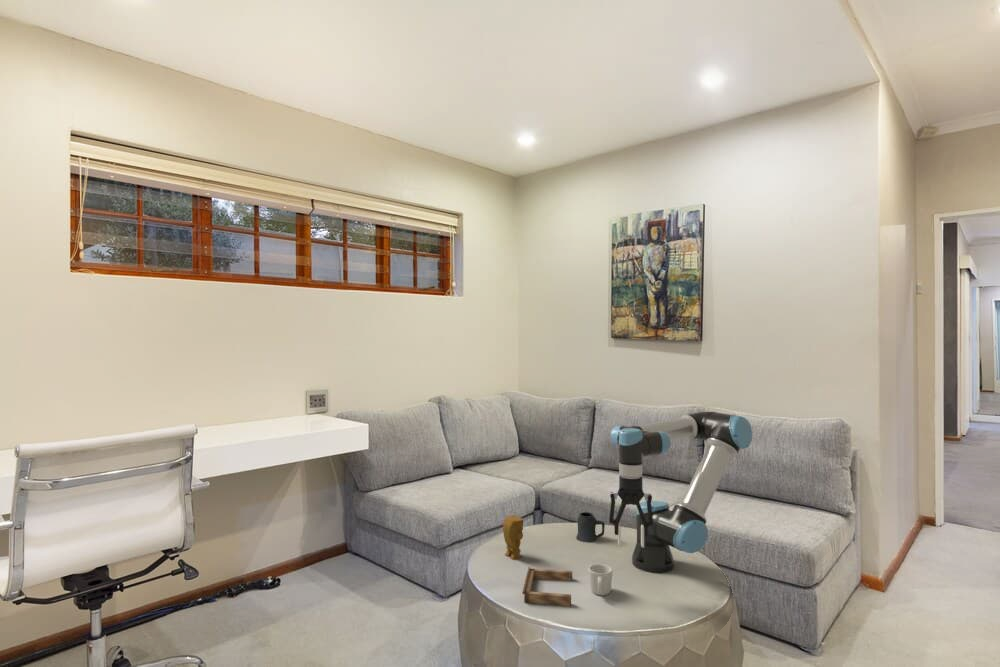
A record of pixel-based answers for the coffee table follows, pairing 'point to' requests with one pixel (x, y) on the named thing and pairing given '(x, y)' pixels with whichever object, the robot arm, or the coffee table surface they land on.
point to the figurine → (513, 535)
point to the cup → (600, 579)
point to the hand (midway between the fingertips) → (630, 545)
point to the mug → (588, 527)
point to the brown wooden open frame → (546, 597)
